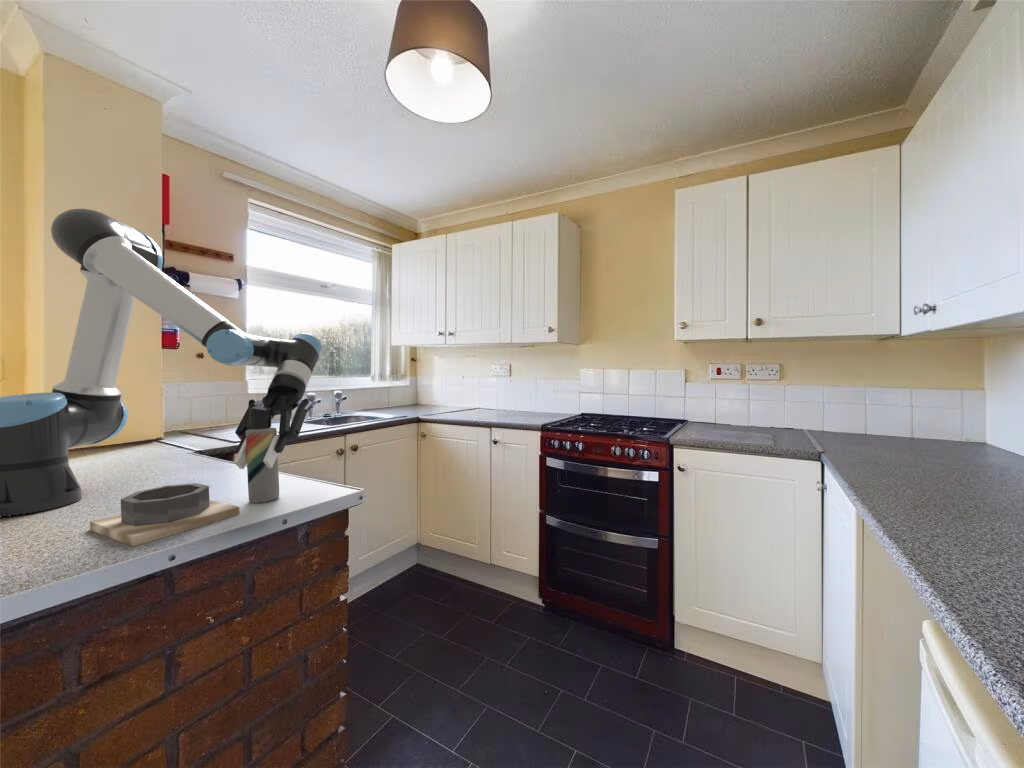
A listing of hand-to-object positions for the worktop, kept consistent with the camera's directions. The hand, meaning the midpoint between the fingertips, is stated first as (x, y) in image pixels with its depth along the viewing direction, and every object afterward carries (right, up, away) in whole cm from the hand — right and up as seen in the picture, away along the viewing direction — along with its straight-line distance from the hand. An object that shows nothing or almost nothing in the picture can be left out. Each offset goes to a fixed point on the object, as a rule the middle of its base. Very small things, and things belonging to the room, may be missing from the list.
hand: (253, 464), depth 84 cm
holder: (-10, -9, -9) cm, 16 cm away
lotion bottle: (0, -8, +4) cm, 9 cm away
